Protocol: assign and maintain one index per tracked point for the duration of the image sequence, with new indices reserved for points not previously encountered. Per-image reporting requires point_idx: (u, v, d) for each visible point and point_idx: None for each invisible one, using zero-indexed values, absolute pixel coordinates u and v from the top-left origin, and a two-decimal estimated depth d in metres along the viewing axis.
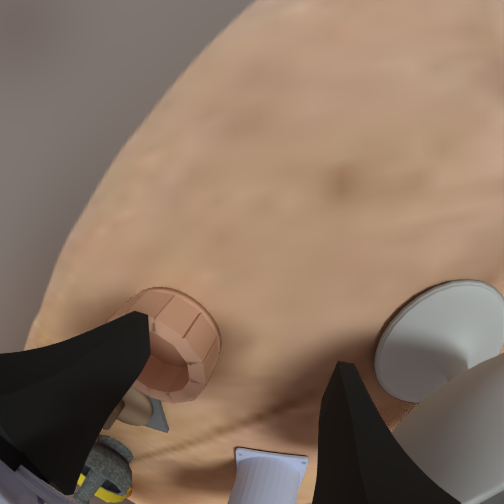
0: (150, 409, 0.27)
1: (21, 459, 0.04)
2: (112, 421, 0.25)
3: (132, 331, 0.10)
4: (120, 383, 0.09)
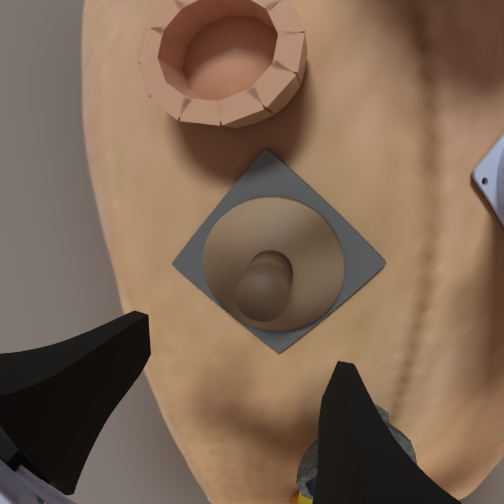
0: (323, 219, 0.17)
1: (21, 459, 0.04)
2: (281, 278, 0.15)
3: (132, 331, 0.10)
4: (120, 382, 0.09)
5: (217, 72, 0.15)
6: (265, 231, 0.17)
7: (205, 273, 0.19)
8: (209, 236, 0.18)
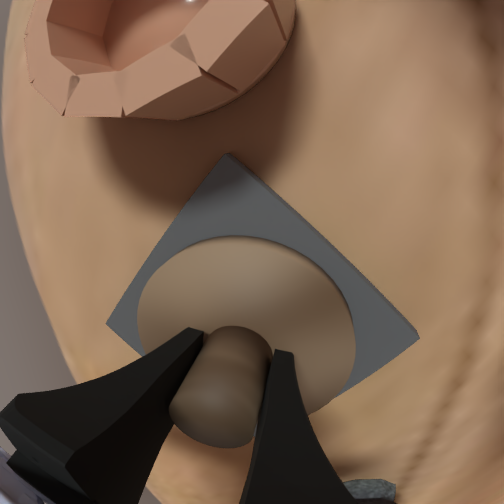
0: (324, 278, 0.10)
1: None
2: (245, 393, 0.08)
3: (191, 350, 0.09)
4: None
5: (149, 34, 0.08)
6: (225, 297, 0.10)
7: (144, 347, 0.12)
8: (142, 298, 0.11)
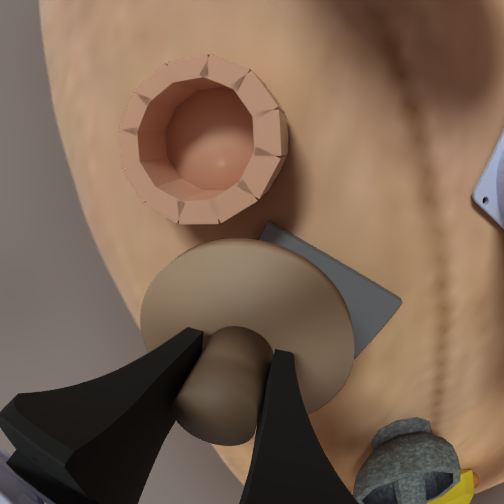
0: (320, 276, 0.10)
1: None
2: (245, 390, 0.08)
3: (191, 350, 0.09)
4: None
5: (202, 156, 0.17)
6: (225, 298, 0.11)
7: (148, 351, 0.12)
8: (144, 303, 0.11)
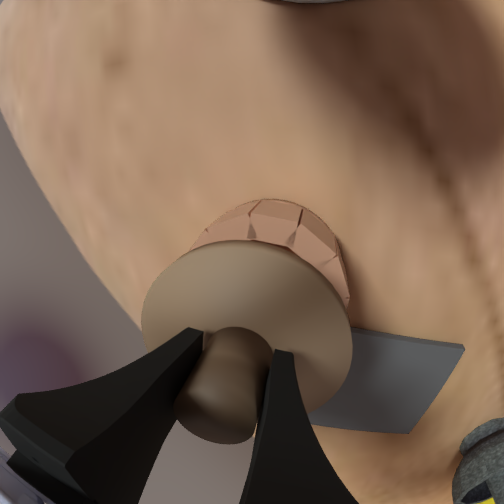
0: (311, 271, 0.10)
1: None
2: (242, 387, 0.08)
3: (191, 350, 0.09)
4: None
5: None
6: (220, 299, 0.11)
7: None
8: (144, 310, 0.12)
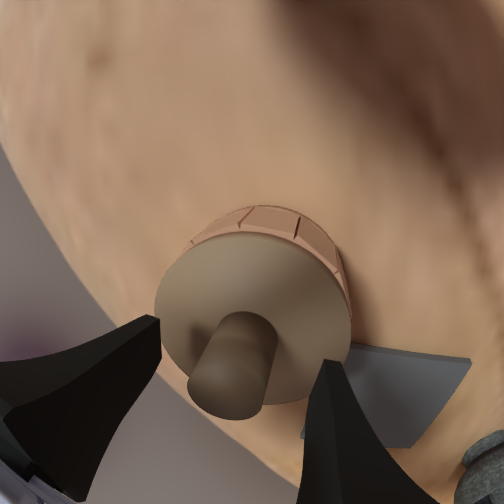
0: (312, 260, 0.11)
1: (34, 470, 0.04)
2: (251, 365, 0.09)
3: (145, 335, 0.10)
4: (132, 388, 0.09)
5: None
6: (229, 286, 0.12)
7: (163, 342, 0.14)
8: (157, 297, 0.13)
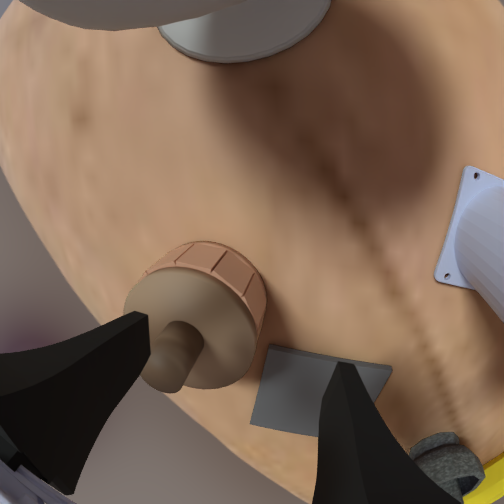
0: (221, 288, 0.16)
1: (21, 459, 0.04)
2: (175, 356, 0.15)
3: (132, 331, 0.10)
4: (120, 383, 0.09)
5: None
6: (169, 303, 0.17)
7: None
8: (125, 309, 0.18)
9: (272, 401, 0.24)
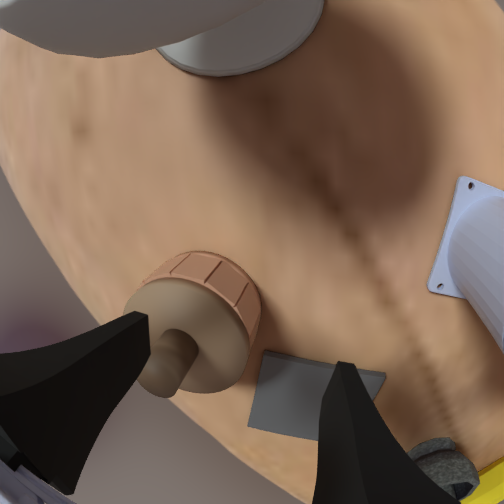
0: (213, 299, 0.17)
1: (21, 459, 0.04)
2: (169, 363, 0.15)
3: (132, 331, 0.10)
4: (120, 383, 0.09)
5: None
6: (164, 312, 0.18)
7: None
8: None
9: (268, 405, 0.25)
